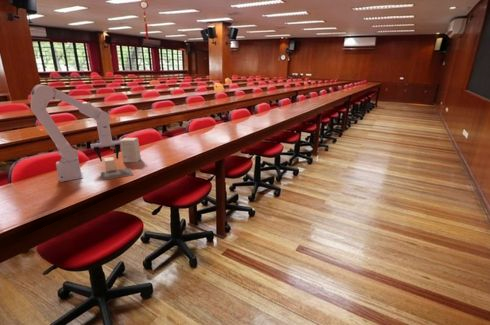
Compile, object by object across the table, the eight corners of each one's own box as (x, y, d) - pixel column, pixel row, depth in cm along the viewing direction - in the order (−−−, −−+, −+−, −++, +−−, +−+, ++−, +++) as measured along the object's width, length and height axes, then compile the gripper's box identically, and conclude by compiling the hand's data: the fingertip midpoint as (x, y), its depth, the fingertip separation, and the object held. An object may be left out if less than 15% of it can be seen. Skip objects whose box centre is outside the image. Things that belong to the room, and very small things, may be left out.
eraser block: (106, 171, 142) (104, 161, 140) (105, 167, 147) (104, 158, 145) (116, 169, 144) (114, 159, 142) (114, 166, 149) (113, 156, 147)
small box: (141, 159, 161) (138, 137, 156) (137, 162, 155) (134, 140, 150) (127, 159, 161) (124, 137, 157) (122, 162, 155) (119, 140, 151)
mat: (102, 180, 130) (102, 180, 130) (100, 172, 140) (100, 172, 139) (133, 175, 136) (133, 174, 136) (129, 167, 146) (129, 167, 146)
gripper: (119, 131, 146) (123, 155, 150) (88, 134, 139) (93, 159, 143) (120, 133, 140) (124, 158, 144) (88, 137, 133) (94, 163, 138)
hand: (109, 159), depth 144 cm, fingers open, 7 cm apart
